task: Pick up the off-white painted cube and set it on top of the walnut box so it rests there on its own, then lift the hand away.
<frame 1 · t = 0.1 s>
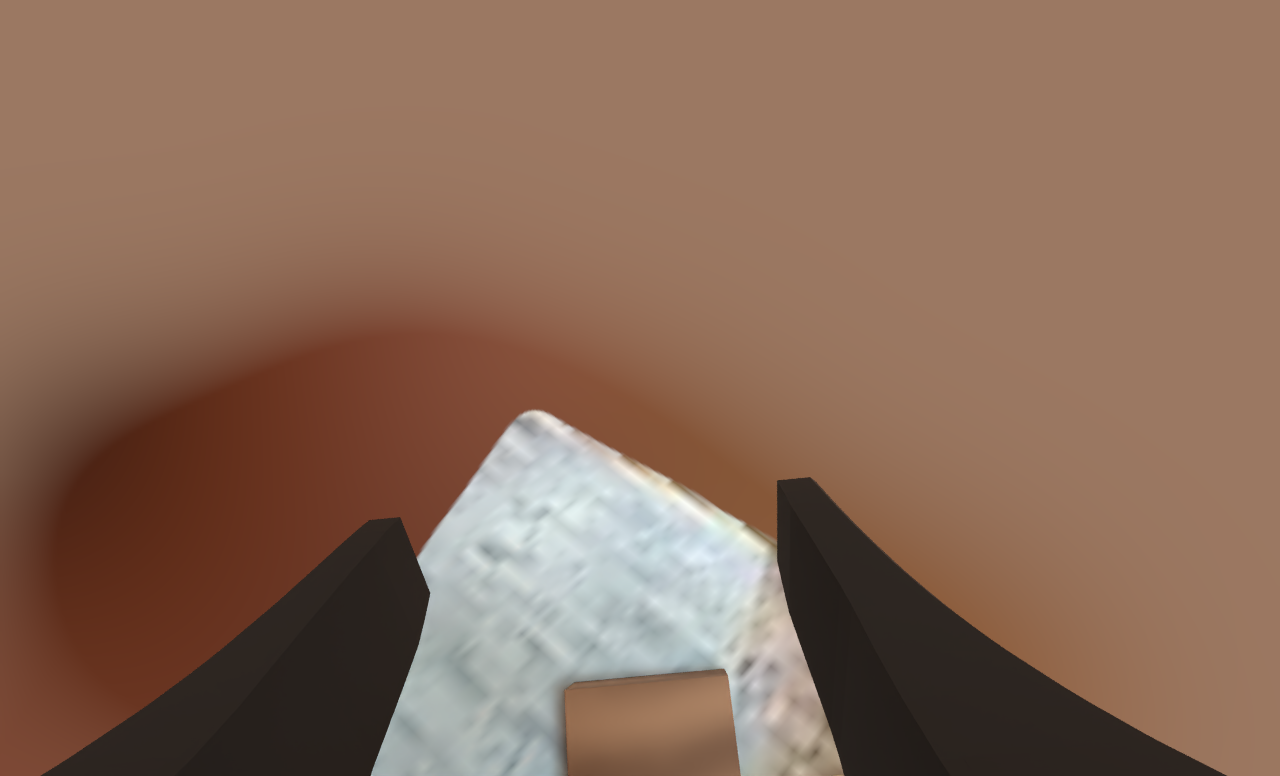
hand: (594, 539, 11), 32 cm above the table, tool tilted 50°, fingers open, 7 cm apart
walnut box: (656, 760, 38), on the table
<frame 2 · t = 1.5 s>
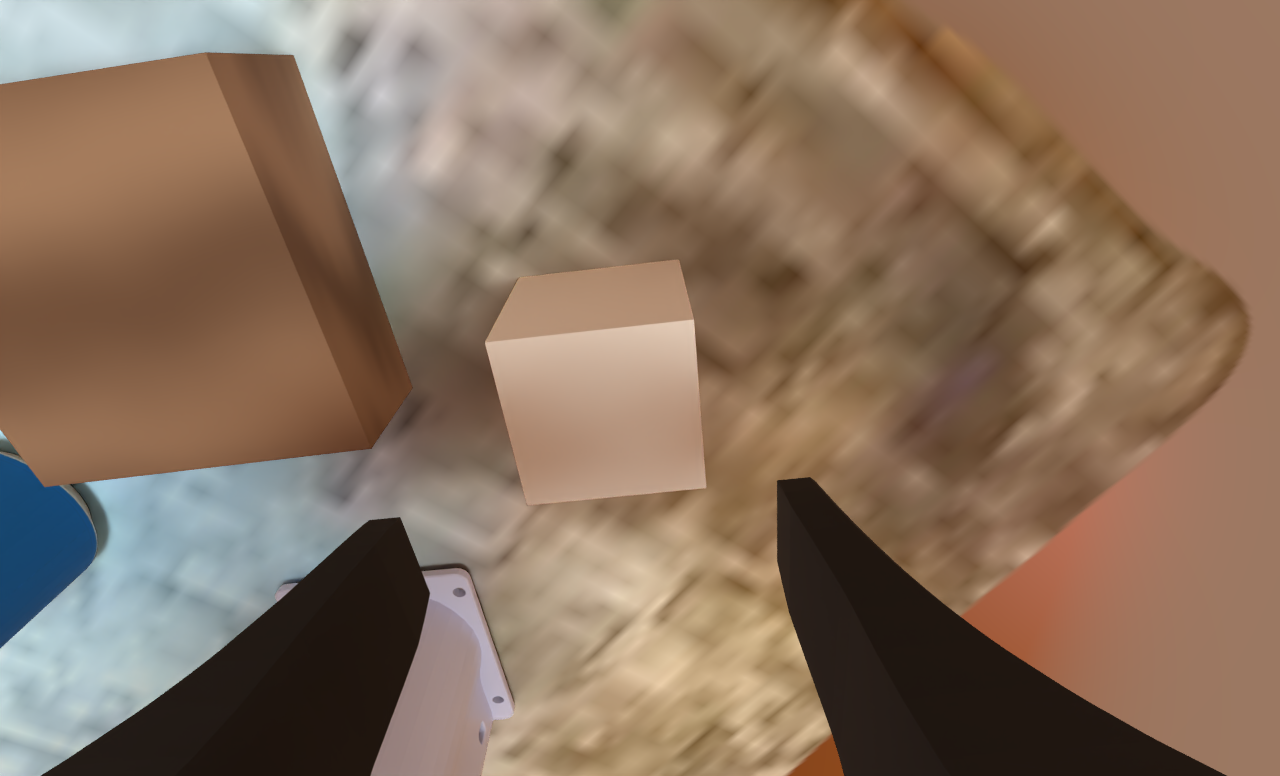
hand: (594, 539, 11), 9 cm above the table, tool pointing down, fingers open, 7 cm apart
walnut box: (209, 261, 18), on the table
cube: (609, 340, 20), on the table
beverage can: (24, 500, 23), on the table
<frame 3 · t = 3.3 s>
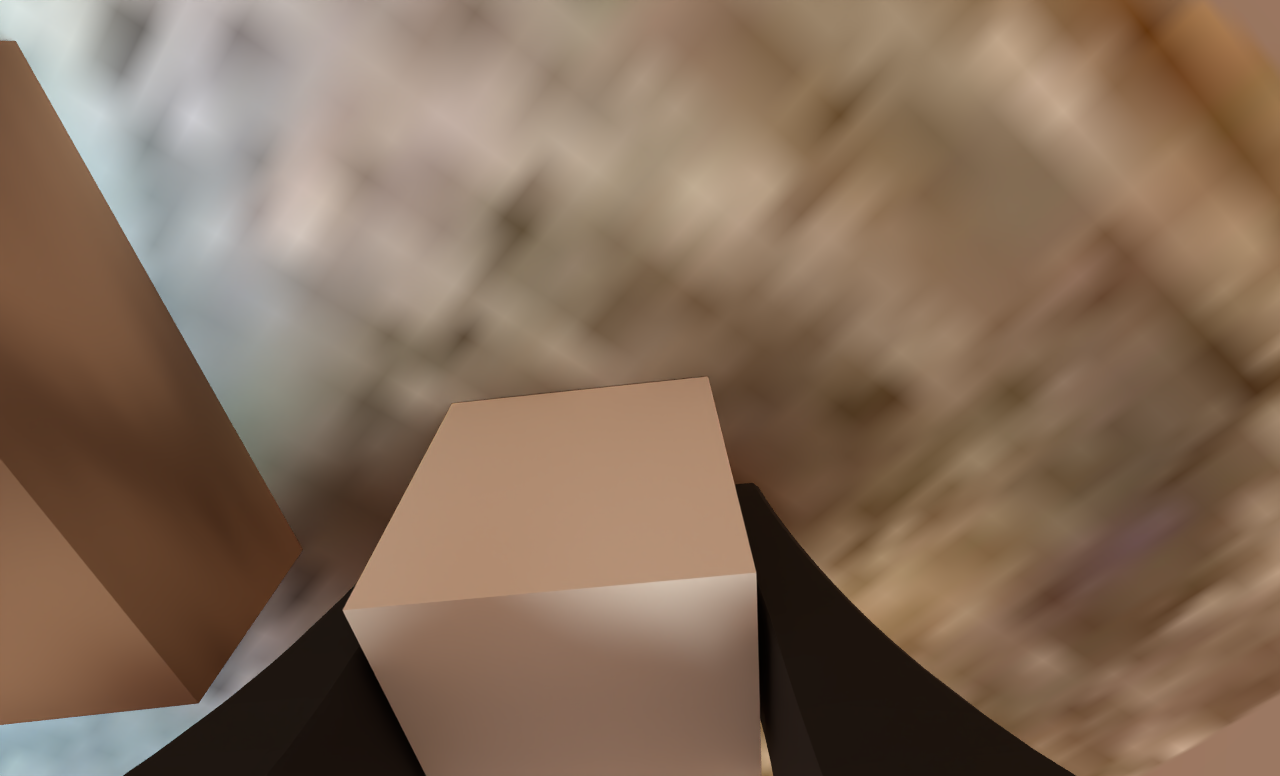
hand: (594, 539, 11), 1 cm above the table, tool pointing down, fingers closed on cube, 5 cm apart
cube: (597, 492, 13), on the table, touching gripper
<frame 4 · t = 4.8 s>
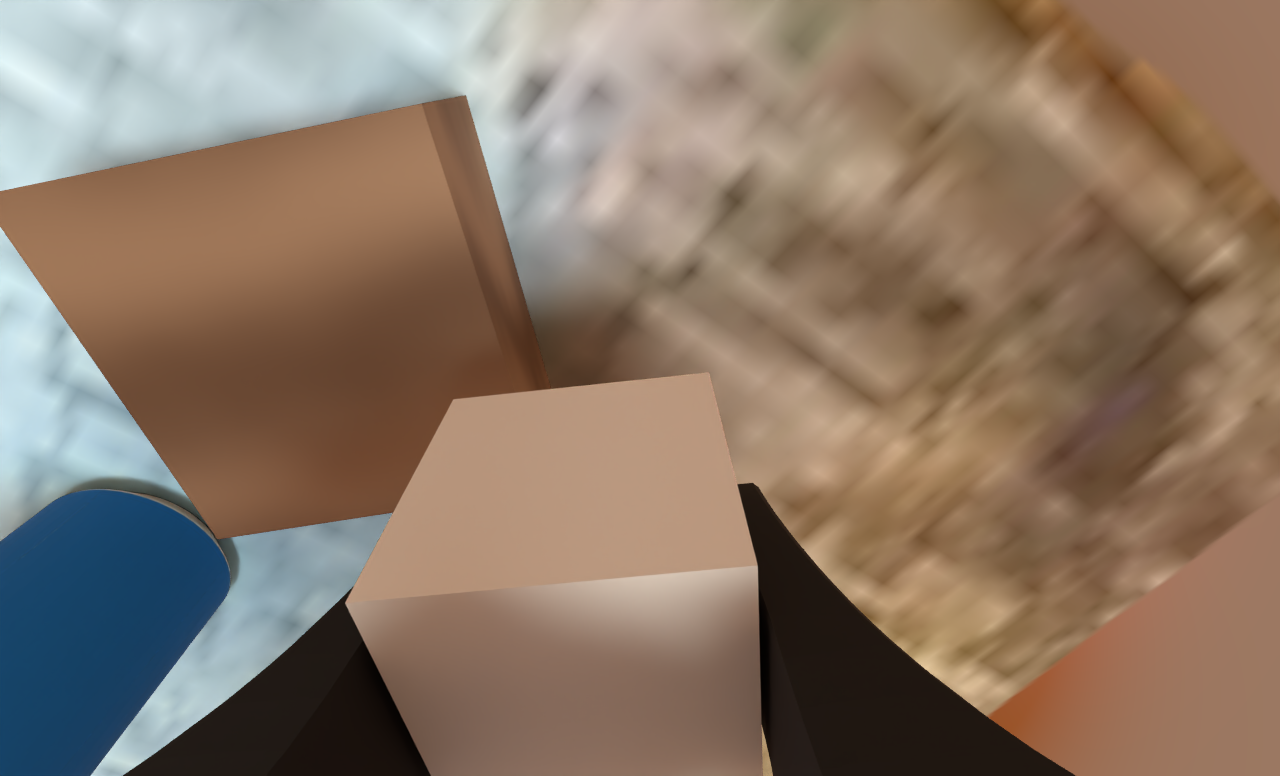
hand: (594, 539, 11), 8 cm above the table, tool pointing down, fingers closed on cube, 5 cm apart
walnut box: (364, 304, 18), on the table
cube: (598, 488, 13), point 7 cm above the table, touching gripper
beverage can: (156, 540, 23), on the table
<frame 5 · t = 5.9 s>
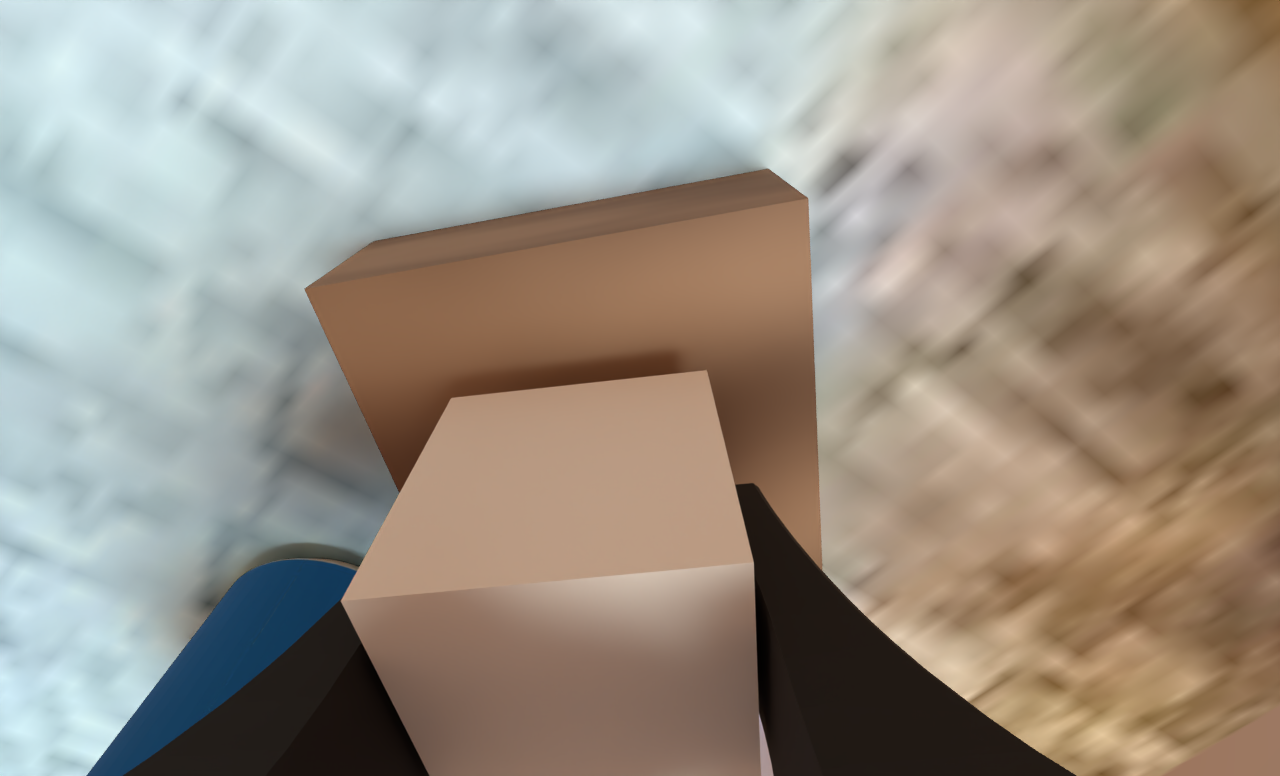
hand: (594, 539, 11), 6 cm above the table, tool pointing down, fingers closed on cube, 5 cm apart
walnut box: (607, 375, 17), on the table
cube: (597, 486, 13), point 5 cm above the table, touching gripper
beverage can: (336, 604, 21), on the table
when the fingers open (6 cm above the table, at t = 6.5 s): cube drops 1 cm, resting on walnut box.
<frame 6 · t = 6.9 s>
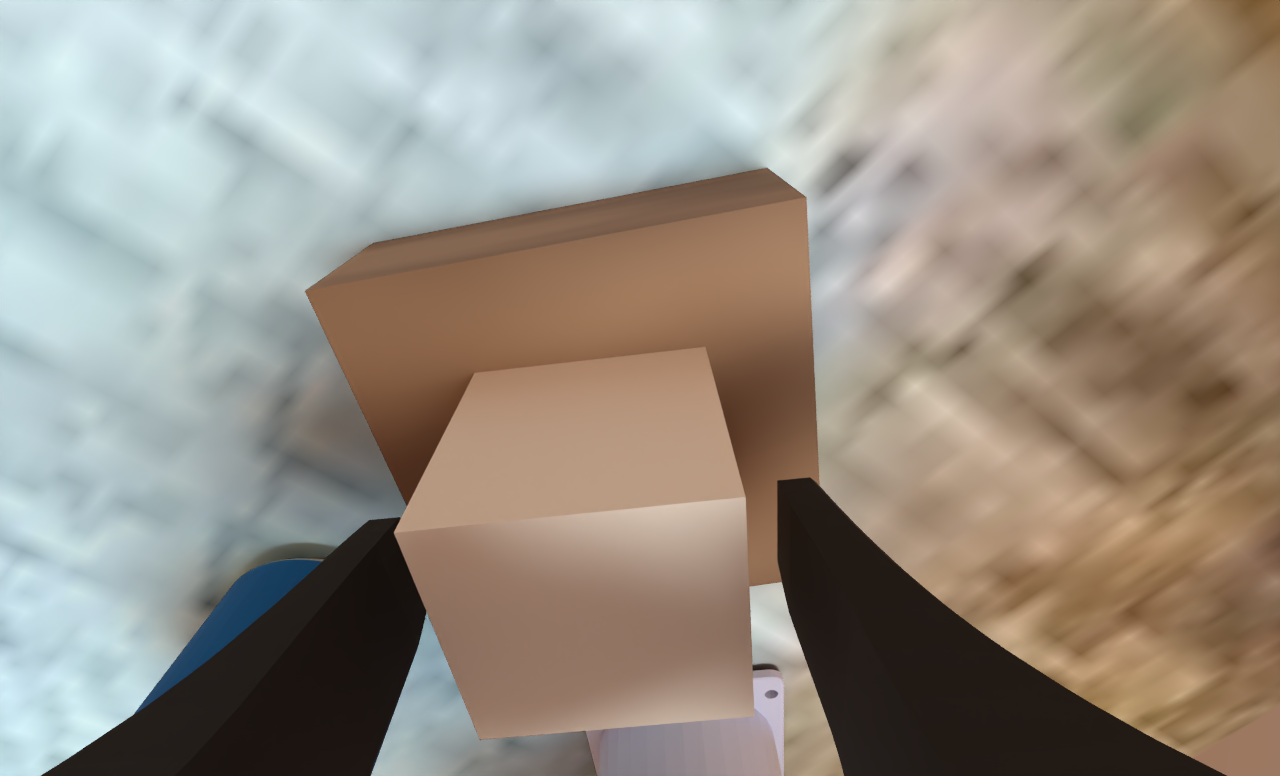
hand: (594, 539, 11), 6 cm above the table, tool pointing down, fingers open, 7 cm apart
walnut box: (607, 375, 17), on the table, touching cube
cube: (605, 455, 14), point 4 cm above the table, touching walnut box
beverage can: (336, 604, 22), on the table
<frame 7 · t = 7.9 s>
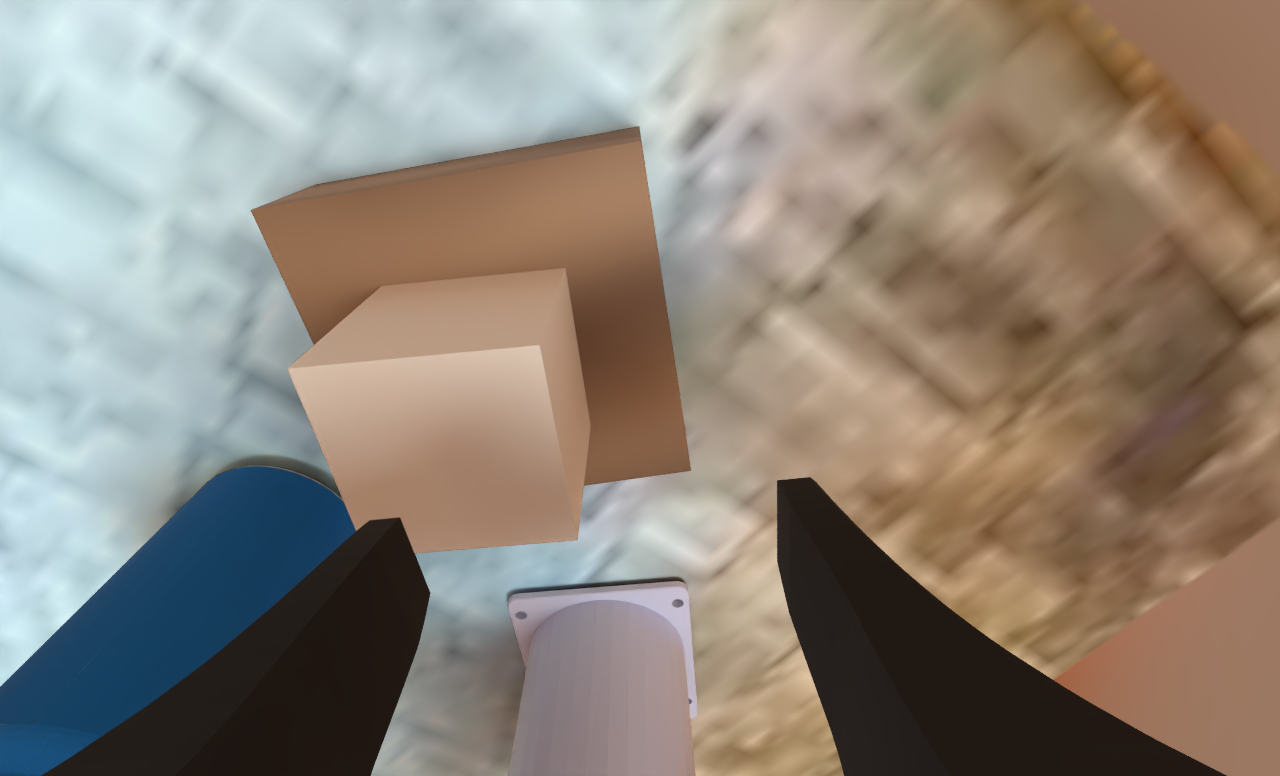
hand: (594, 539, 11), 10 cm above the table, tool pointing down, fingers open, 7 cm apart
walnut box: (520, 305, 21), on the table, touching cube
cube: (493, 360, 17), point 4 cm above the table, touching walnut box
beverage can: (293, 515, 25), on the table
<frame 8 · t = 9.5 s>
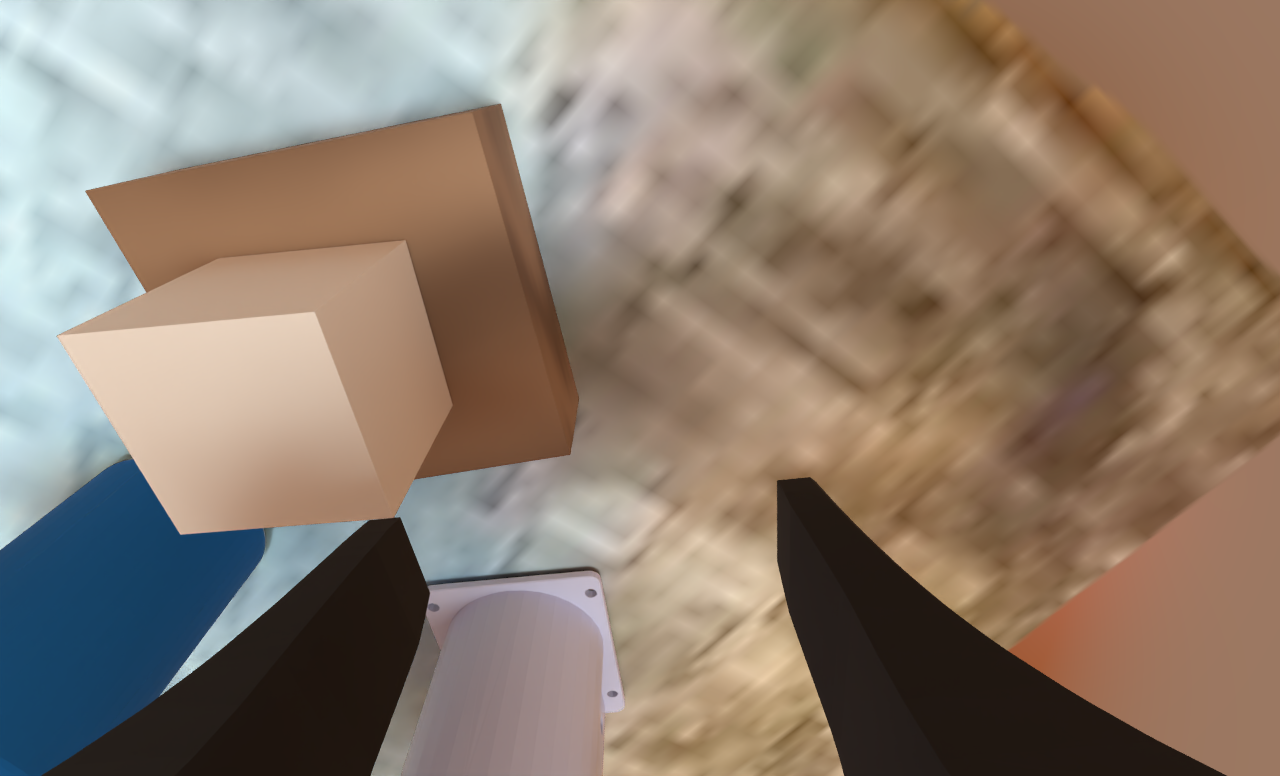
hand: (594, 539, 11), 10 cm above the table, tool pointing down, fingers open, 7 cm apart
walnut box: (404, 291, 20), on the table, touching cube
cube: (343, 336, 17), point 4 cm above the table, touching walnut box
beverage can: (195, 508, 24), on the table
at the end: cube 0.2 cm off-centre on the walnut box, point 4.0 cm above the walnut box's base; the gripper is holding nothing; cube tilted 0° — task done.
